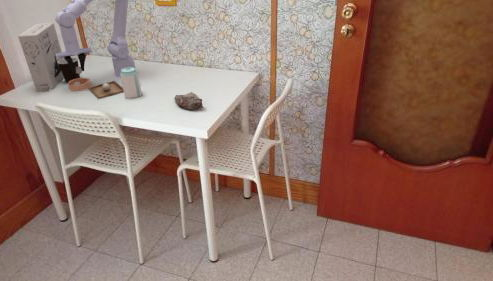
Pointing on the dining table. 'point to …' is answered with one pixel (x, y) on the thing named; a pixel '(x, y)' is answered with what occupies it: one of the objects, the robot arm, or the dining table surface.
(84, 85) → the bowl
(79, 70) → the pebble
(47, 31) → the cereal box
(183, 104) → the mineral rock
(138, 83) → the can
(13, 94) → the dining table surface
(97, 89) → the tray
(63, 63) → the coffee mug
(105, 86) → the white ball
